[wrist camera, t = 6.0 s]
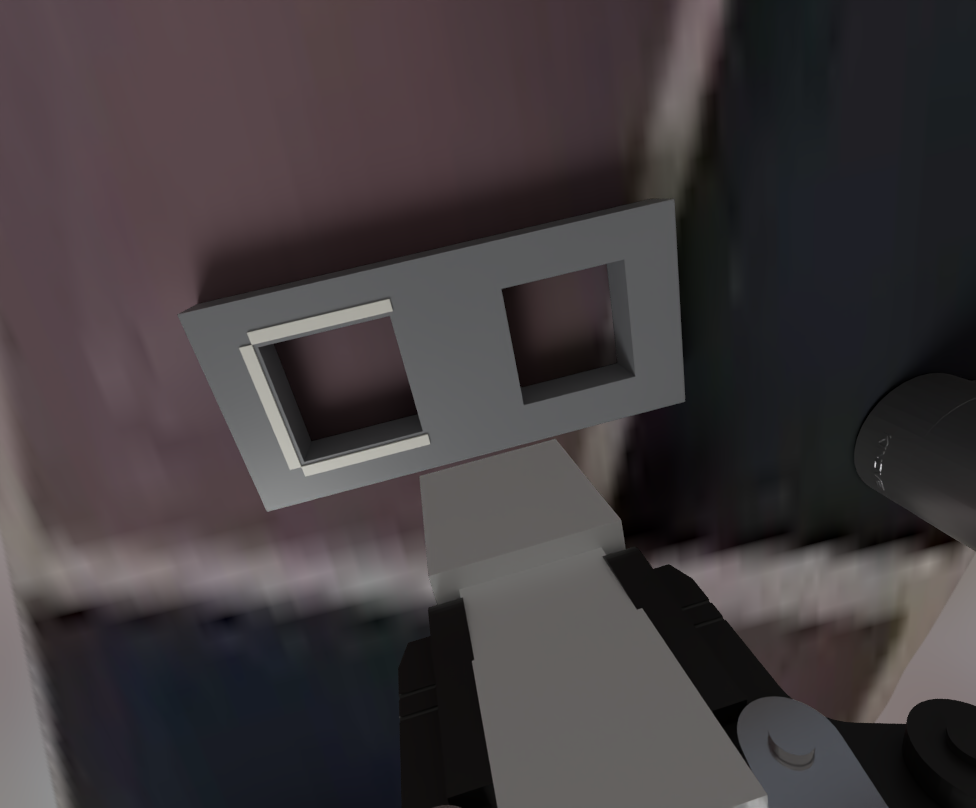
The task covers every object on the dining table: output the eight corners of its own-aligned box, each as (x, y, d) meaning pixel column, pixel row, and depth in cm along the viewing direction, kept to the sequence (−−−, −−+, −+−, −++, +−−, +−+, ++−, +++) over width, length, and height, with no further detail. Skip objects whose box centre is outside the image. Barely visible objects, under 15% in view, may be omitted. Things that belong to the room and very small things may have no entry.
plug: (555, 438, 15) (851, 805, 5) (577, 554, 16) (848, 1021, 6) (419, 476, 14) (461, 945, 5) (453, 591, 16) (540, 1144, 6)
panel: (651, 198, 27) (675, 198, 25) (664, 386, 32) (685, 402, 29) (197, 304, 26) (176, 315, 23) (277, 487, 30) (266, 512, 28)
